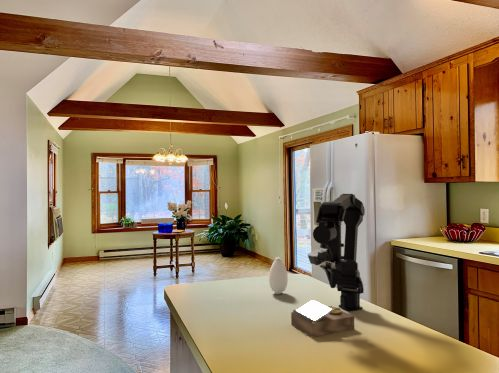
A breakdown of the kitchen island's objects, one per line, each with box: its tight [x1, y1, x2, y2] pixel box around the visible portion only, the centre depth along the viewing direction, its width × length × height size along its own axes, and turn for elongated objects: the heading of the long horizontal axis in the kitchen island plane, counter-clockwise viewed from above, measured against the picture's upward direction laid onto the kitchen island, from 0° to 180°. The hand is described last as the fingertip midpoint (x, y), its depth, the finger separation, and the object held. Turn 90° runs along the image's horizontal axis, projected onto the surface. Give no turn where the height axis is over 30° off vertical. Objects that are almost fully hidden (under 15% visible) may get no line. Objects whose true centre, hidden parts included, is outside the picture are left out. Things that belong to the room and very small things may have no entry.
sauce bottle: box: [268, 252, 289, 295], centre depth 162 cm, size 8×8×18 cm
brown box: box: [290, 305, 355, 338], centre depth 122 cm, size 16×12×5 cm
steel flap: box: [295, 299, 333, 322], centre depth 121 cm, size 7×11×1 cm, turn 24°
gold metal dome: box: [329, 306, 342, 315], centre depth 124 cm, size 5×5×5 cm
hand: (332, 287), depth 124 cm, fingers closed
